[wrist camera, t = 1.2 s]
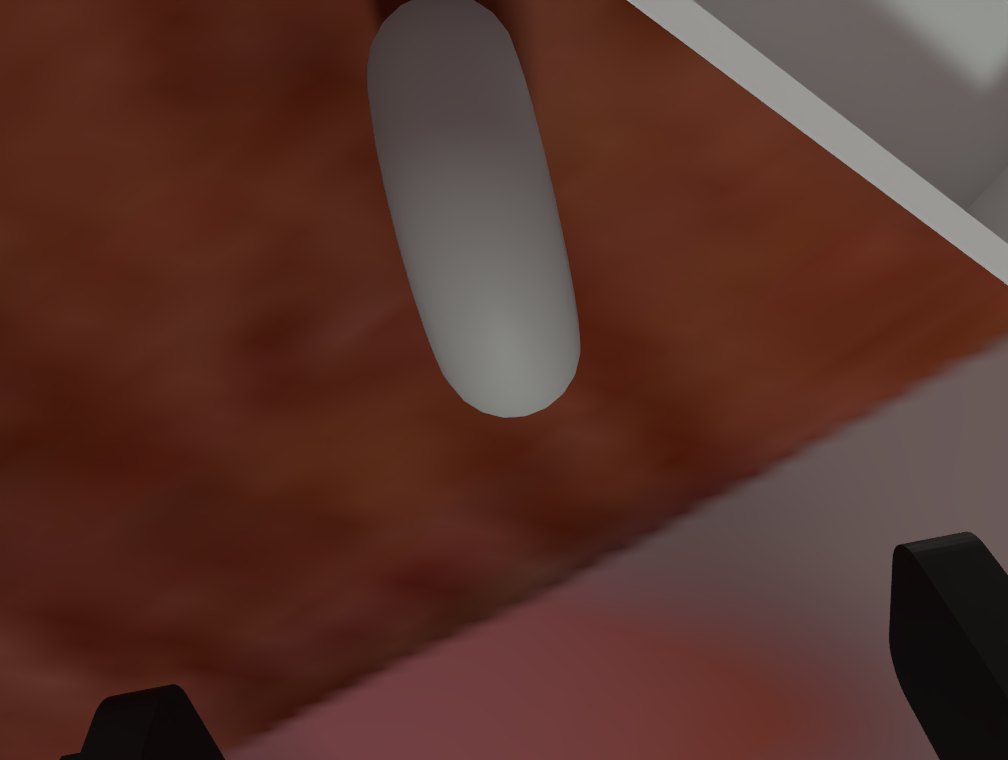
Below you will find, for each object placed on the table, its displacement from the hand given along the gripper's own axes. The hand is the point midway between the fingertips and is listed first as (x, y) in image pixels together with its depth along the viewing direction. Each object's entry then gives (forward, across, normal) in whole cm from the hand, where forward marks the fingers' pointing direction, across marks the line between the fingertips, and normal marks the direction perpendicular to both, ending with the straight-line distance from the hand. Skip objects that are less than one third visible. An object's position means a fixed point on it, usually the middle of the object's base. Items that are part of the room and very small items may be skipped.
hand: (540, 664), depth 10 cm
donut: (+19, 0, 0) cm, 19 cm away
